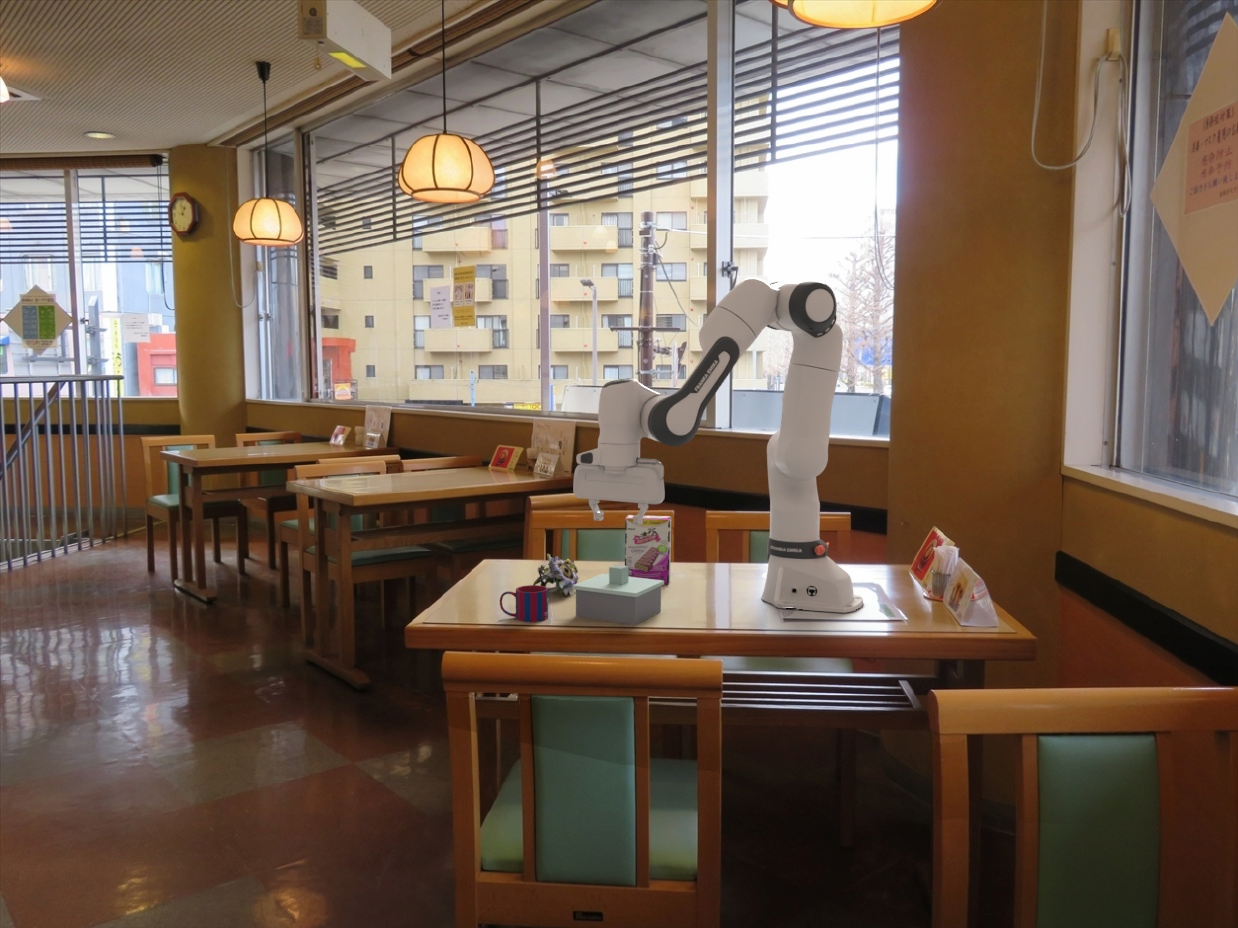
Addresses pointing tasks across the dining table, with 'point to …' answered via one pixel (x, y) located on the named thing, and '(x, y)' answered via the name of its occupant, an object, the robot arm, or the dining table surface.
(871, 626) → the dining table surface
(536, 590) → the mug
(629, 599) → the box
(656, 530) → the candy bar box
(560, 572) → the passion flower
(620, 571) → the lid
